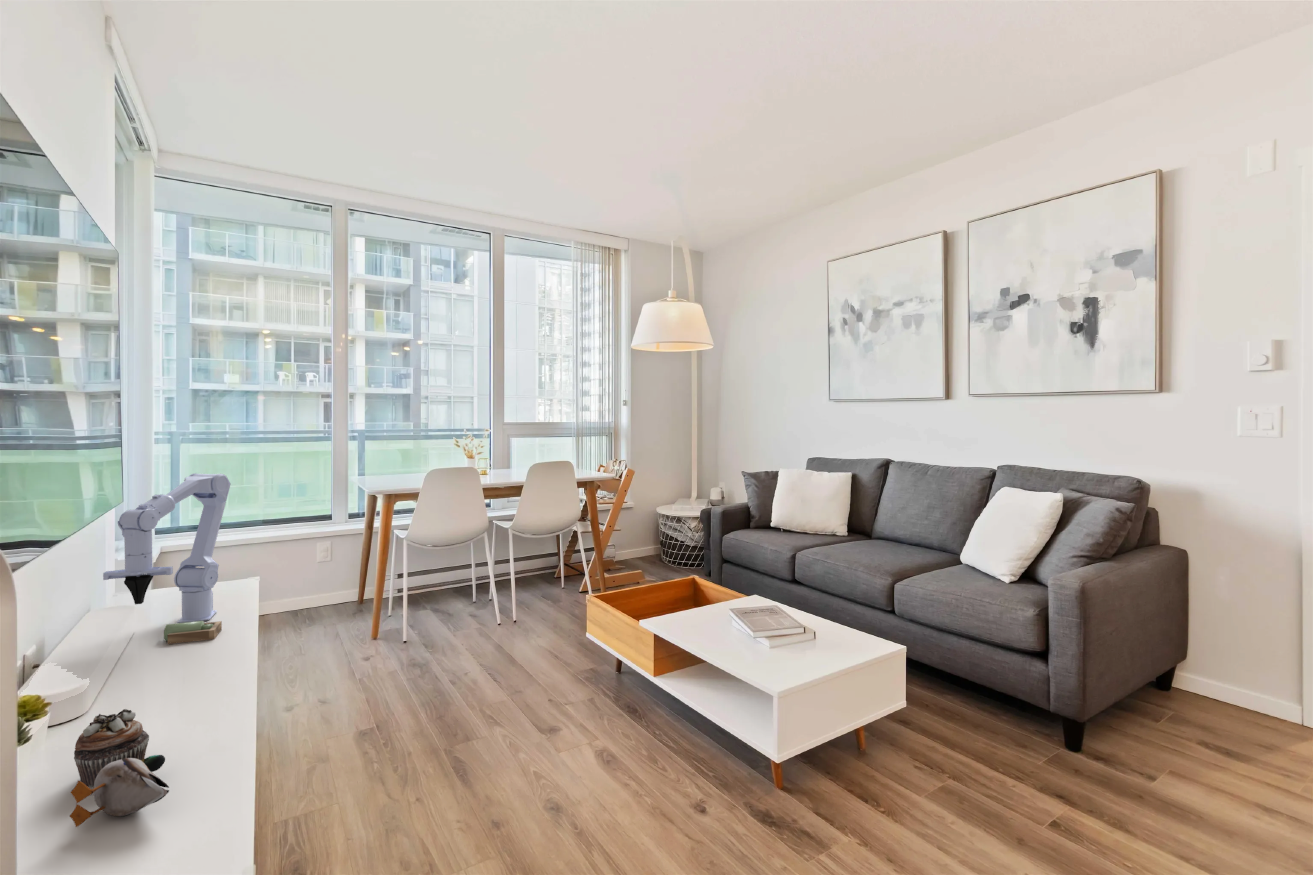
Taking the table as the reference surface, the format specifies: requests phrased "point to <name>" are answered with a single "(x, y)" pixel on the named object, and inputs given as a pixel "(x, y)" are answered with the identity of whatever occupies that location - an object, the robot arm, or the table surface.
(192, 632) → the u rest
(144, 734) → the cupcake
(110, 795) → the decorative duck model
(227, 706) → the table surface
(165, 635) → the bottle
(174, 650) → the table surface
